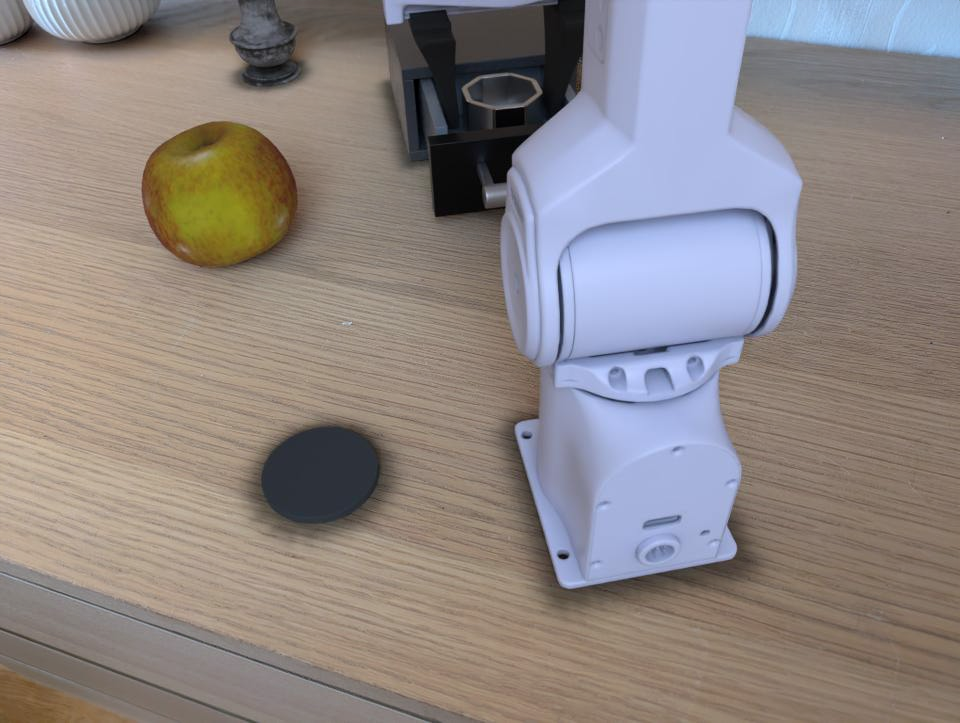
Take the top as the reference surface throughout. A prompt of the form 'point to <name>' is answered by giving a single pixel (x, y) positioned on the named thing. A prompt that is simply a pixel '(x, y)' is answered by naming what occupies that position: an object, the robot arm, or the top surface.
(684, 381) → the robot arm
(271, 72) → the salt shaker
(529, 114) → the silver hollow octagonal piece
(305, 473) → the coaster
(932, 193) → the top surface
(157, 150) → the fruit
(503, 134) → the drawer
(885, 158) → the top surface
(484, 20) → the cabinet
